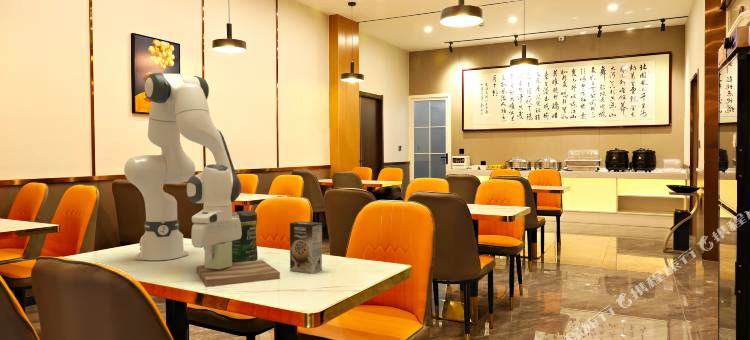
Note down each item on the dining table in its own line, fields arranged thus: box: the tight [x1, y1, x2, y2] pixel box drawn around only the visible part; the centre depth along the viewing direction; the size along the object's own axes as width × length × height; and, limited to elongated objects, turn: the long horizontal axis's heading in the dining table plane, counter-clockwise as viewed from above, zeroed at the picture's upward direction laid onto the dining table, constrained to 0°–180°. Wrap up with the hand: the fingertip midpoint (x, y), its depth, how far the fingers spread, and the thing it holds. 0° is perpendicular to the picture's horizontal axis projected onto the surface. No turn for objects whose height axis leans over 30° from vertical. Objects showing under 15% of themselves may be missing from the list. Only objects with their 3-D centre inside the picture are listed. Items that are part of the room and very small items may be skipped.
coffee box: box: [289, 220, 323, 274], centre depth 174 cm, size 9×6×16 cm
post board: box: [195, 259, 281, 288], centre depth 168 cm, size 22×22×8 cm
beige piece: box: [204, 242, 233, 269], centre depth 169 cm, size 6×6×8 cm
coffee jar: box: [232, 210, 258, 263], centre depth 190 cm, size 10×8×19 cm
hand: (218, 257), depth 169 cm, fingers closed on beige piece, 6 cm apart
